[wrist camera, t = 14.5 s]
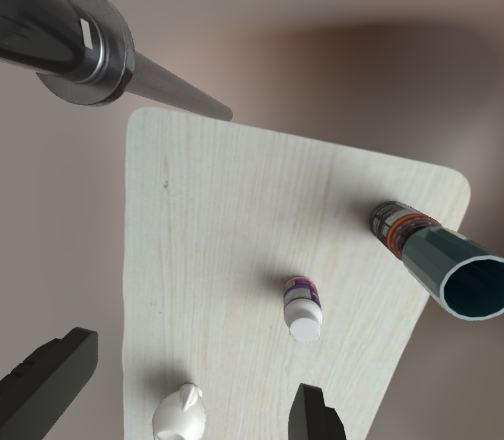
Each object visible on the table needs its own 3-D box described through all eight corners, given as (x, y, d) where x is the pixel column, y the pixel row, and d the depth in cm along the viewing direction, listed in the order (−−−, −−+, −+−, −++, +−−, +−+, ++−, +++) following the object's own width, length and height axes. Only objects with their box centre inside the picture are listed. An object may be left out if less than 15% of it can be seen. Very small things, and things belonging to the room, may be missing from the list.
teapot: (227, 365, 49) (215, 415, 40) (198, 431, 55) (182, 486, 47) (180, 347, 49) (158, 392, 40) (157, 415, 56) (133, 467, 47)
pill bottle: (318, 303, 43) (327, 347, 34) (285, 305, 44) (286, 348, 35) (315, 274, 41) (324, 312, 32) (282, 276, 42) (281, 314, 33)
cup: (392, 243, 27) (427, 276, 20) (449, 216, 26) (507, 242, 19) (415, 286, 28) (455, 330, 21) (471, 262, 27) (533, 302, 20)
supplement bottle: (415, 232, 38) (467, 268, 27) (373, 244, 39) (407, 283, 28) (406, 194, 36) (457, 216, 25) (363, 208, 38) (394, 234, 27)
